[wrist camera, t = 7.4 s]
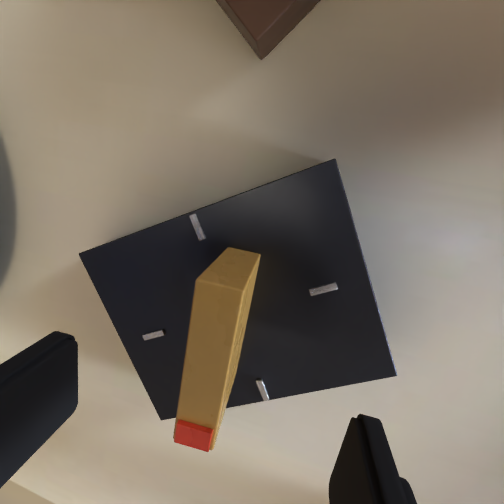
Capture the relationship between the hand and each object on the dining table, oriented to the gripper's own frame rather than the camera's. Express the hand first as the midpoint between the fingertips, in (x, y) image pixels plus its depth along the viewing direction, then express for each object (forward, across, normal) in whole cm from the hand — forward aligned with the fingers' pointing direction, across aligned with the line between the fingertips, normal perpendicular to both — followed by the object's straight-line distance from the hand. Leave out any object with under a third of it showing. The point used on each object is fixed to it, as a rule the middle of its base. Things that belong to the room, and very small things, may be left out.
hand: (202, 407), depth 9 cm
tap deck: (+10, +1, 0) cm, 10 cm away
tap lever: (+7, +1, 0) cm, 7 cm away
